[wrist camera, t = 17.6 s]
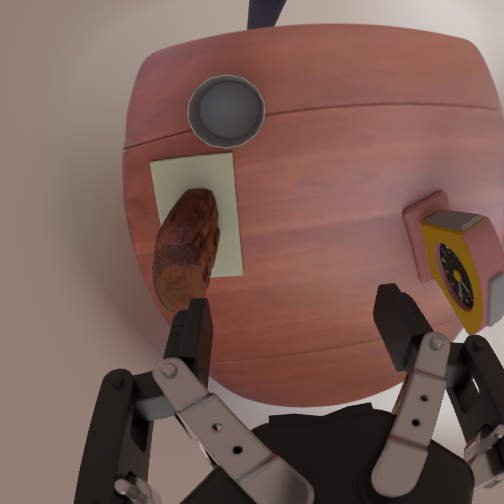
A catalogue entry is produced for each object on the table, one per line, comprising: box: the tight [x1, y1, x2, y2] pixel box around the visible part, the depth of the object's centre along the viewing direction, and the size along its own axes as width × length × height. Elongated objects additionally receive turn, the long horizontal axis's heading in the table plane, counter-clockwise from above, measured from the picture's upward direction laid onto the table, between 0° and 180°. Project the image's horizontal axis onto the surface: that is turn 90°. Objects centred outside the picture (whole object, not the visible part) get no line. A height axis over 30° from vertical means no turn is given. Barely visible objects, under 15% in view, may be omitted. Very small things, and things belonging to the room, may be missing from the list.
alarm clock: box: [403, 190, 504, 335], centre depth 39 cm, size 22×9×22 cm, turn 30°
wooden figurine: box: [152, 188, 220, 313], centre depth 37 cm, size 12×6×18 cm, turn 1°
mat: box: [150, 152, 243, 278], centre depth 46 cm, size 20×12×1 cm, turn 4°
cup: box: [188, 74, 265, 149], centre depth 34 cm, size 8×8×10 cm
